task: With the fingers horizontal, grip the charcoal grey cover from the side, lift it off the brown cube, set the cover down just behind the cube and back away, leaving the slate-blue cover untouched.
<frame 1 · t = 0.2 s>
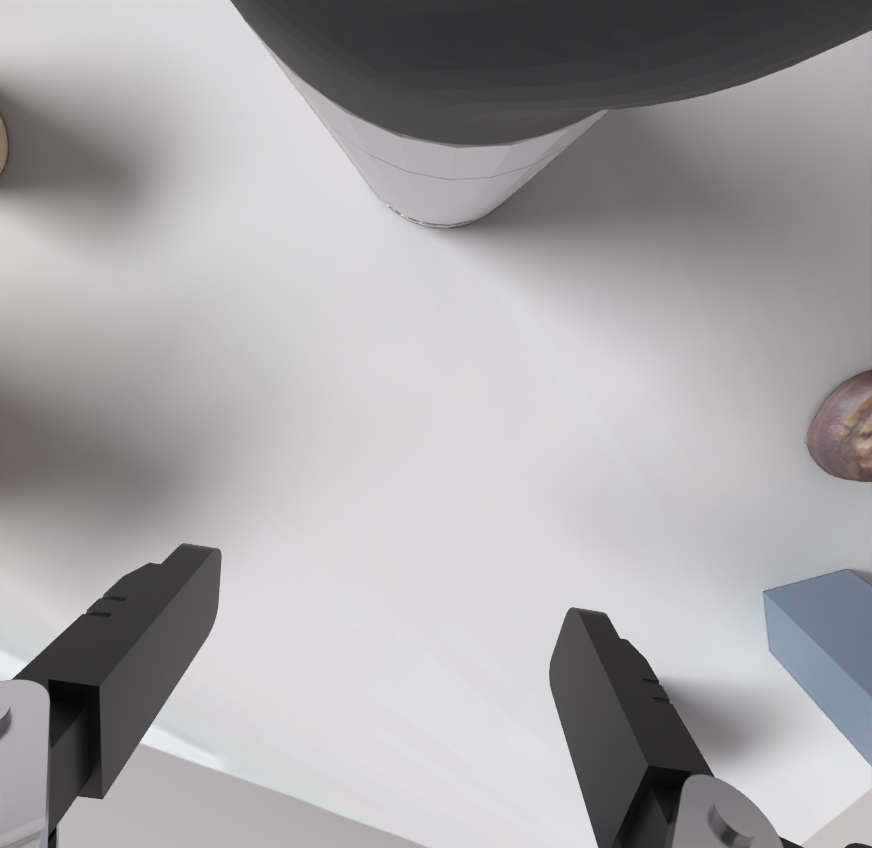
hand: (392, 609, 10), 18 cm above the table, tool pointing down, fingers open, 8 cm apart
cover b: (807, 611, 33), on the table
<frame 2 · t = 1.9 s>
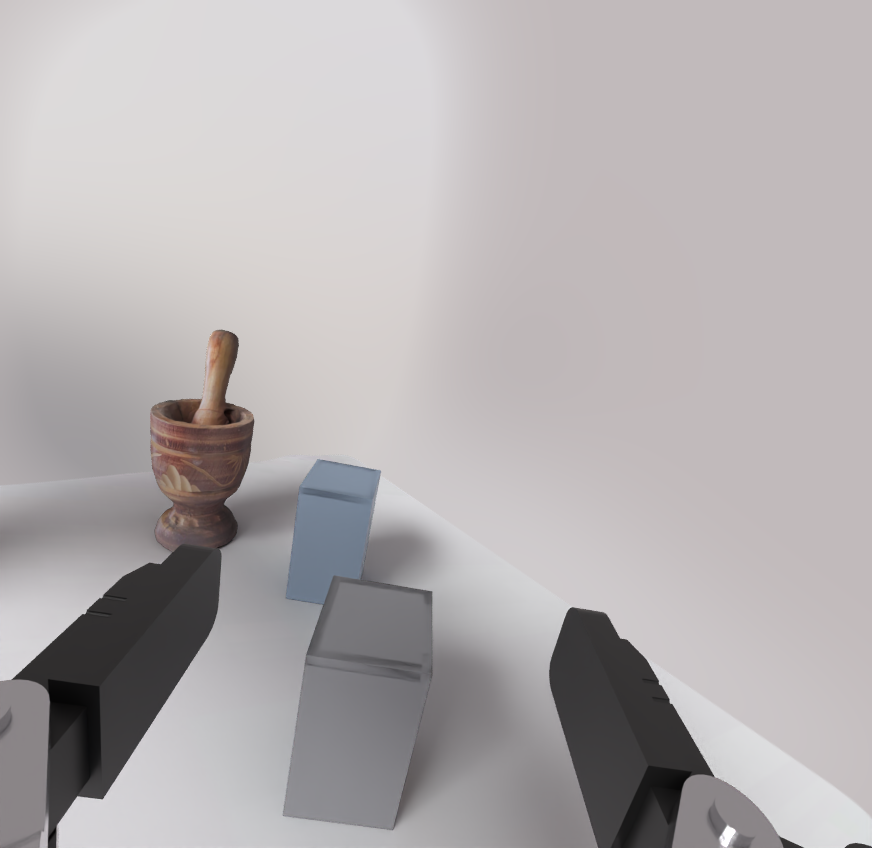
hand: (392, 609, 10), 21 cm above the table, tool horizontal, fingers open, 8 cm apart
mortar and pestle: (197, 525, 47), on the table
cover b: (327, 582, 42), on the table
cover a: (348, 765, 27), on the table
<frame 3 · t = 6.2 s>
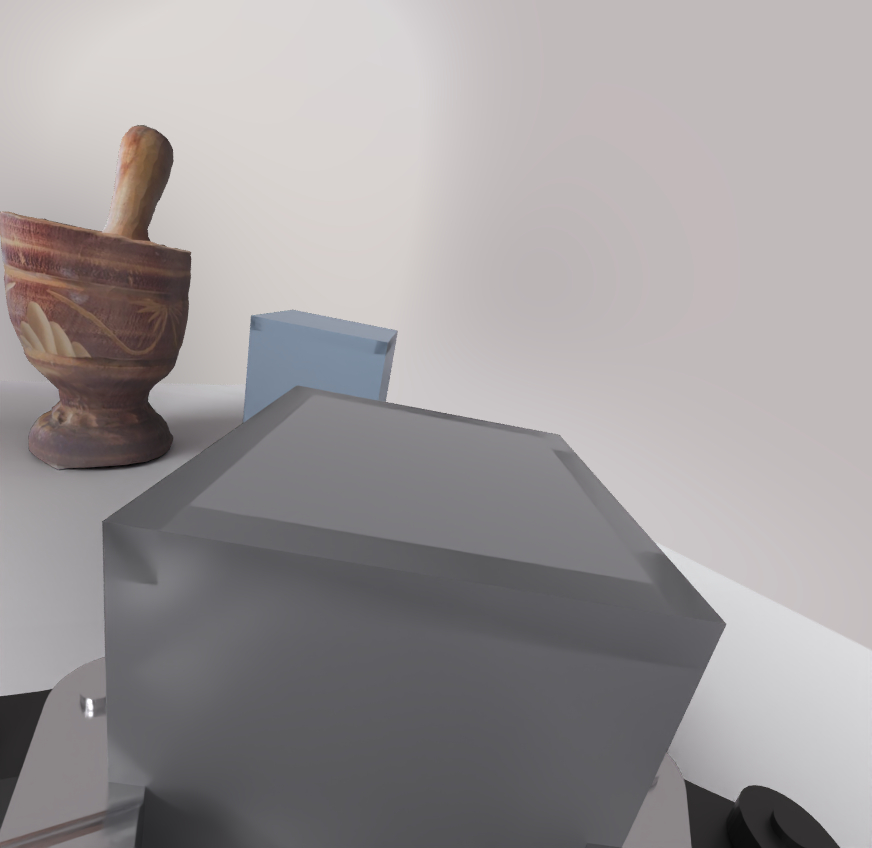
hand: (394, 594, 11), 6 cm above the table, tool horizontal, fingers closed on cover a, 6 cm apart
mortar and pestle: (109, 440, 30), on the table
cover b: (309, 516, 25), on the table
when the fingers open (8 cm above the table, at t = 11.9 s): cover a drops 1 cm, on the table.
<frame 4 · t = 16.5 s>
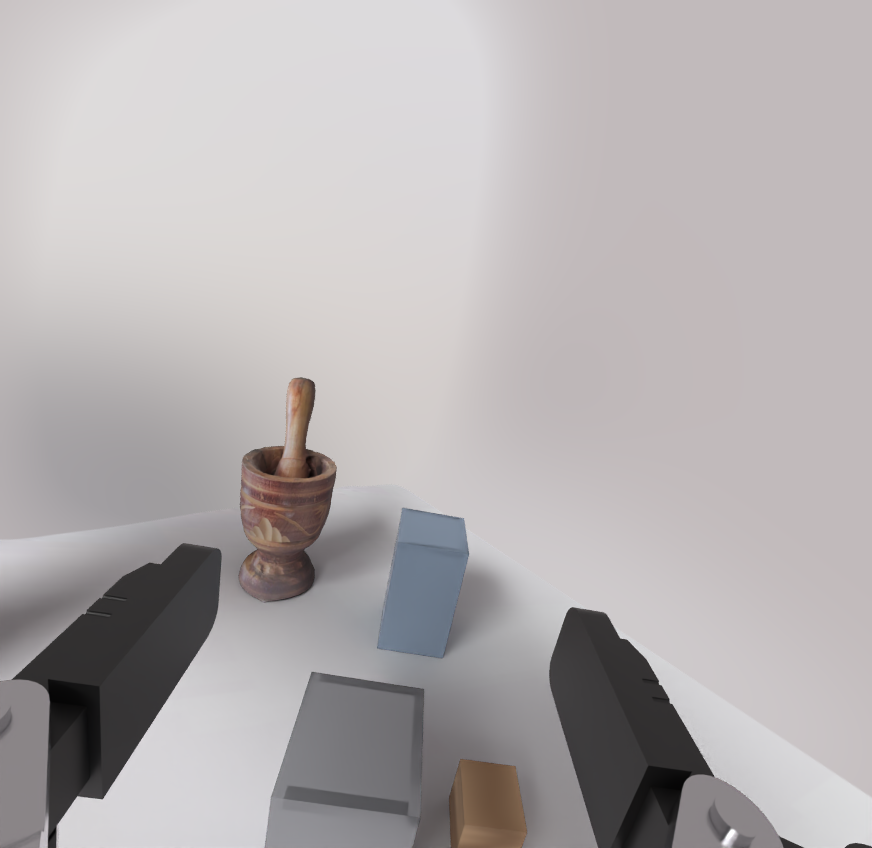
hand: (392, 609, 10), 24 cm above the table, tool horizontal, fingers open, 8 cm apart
brown cube: (485, 814, 27), on the table
mortar and pestle: (274, 569, 47), on the table
cover b: (411, 628, 43), on the table
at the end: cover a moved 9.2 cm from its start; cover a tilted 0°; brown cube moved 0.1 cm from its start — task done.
